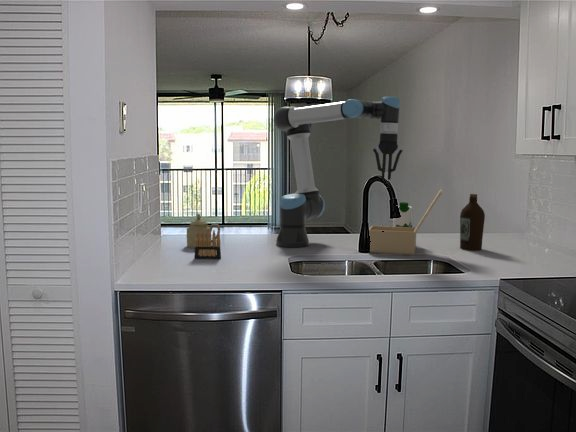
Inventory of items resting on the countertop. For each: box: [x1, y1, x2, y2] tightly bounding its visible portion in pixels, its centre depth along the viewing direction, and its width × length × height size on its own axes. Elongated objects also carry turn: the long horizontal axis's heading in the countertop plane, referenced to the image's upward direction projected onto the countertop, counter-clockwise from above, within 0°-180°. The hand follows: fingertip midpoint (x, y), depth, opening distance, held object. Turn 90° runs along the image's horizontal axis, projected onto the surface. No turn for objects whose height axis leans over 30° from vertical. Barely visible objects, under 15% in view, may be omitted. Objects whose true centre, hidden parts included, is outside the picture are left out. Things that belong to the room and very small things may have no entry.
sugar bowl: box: [186, 213, 221, 249], centre depth 260 cm, size 15×11×15 cm
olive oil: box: [459, 193, 486, 252], centre depth 259 cm, size 11×11×25 cm
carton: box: [368, 225, 417, 256], centre depth 253 cm, size 20×13×10 cm, turn 75°
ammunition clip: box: [193, 229, 222, 260], centre depth 233 cm, size 11×2×12 cm, turn 90°
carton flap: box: [415, 188, 443, 233], centre depth 247 cm, size 20×14×1 cm
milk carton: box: [392, 201, 414, 228], centre depth 270 cm, size 9×9×20 cm
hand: (385, 187), depth 251 cm, fingers closed
